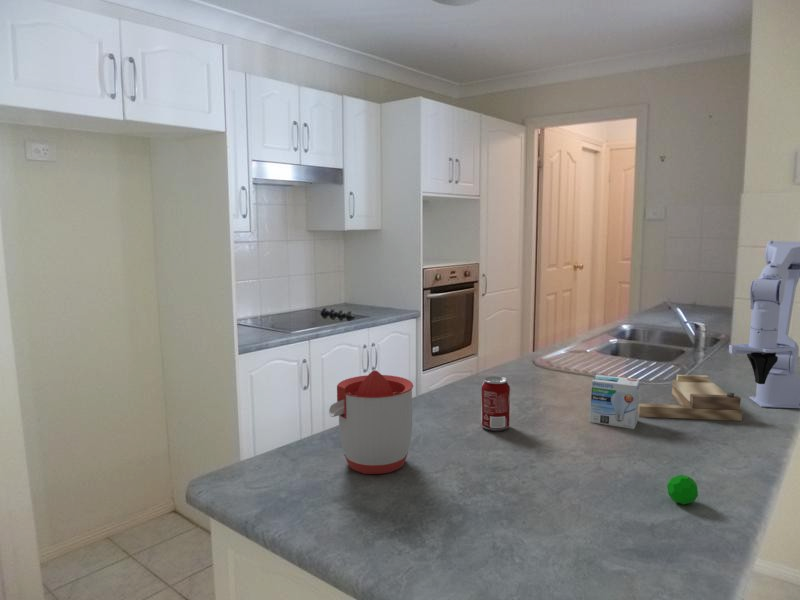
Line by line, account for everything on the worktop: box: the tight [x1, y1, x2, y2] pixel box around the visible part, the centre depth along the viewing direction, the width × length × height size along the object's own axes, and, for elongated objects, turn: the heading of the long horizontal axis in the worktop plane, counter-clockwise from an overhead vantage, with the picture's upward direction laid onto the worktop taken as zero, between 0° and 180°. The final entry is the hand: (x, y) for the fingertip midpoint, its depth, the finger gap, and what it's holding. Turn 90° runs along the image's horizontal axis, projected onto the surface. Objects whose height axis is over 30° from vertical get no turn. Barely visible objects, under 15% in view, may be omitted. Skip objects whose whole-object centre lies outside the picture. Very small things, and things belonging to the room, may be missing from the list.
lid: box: [671, 374, 728, 402], centre depth 156 cm, size 10×16×3 cm, turn 171°
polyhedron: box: [666, 474, 699, 505], centre depth 104 cm, size 5×5×5 cm
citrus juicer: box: [328, 370, 414, 475], centre depth 120 cm, size 16×17×20 cm
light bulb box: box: [589, 374, 641, 430], centre depth 144 cm, size 11×7×11 cm, turn 62°
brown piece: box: [638, 385, 743, 422], centre depth 156 cm, size 24×19×3 cm
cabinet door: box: [690, 392, 742, 410], centre depth 146 cm, size 11×2×4 cm, turn 81°
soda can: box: [480, 375, 511, 432], centre depth 141 cm, size 7×7×12 cm
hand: (759, 383), depth 144 cm, fingers closed
